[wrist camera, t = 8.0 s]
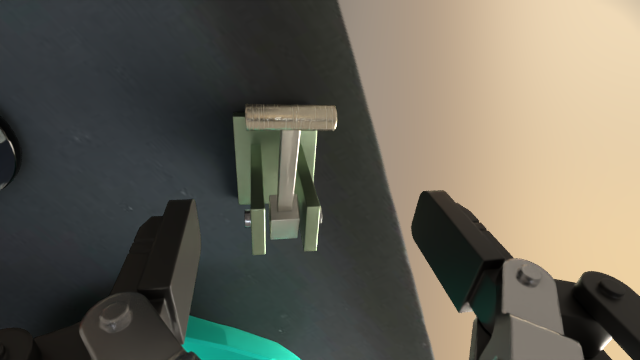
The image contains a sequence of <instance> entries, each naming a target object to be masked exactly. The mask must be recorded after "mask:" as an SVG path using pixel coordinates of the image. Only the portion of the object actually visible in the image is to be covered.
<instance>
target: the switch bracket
mask: <svg viewBox="0 0 640 360" xmlns="http://www.w3.org/2000/svg"><path fill="white" fill-rule="evenodd" d="M233 128H234V143H235V158H236V172H237V187H238V201H239V205H245V204H251V210H245V228H251V231H252V253H253V255H262V254H265V253H266V242H265V204H268V203H269V195H277V187H278V164H279V142H280V131H247V130H246V123H245V112H234V113H233ZM316 138H317V131H301V133H300V142H299V152H298V161H297V170H296V179H295V188H294V194H297V198H298V206H299V213H300V224H299V228H300V233H301V238H302V243H303V248H304V251H316V248H317V237H318V227H319V224H321V222H322V210H321V207H320V204H319V200H318V197H317V194H316V191H315V187H314V184H313V178H314V165H315V152H316Z"/></svg>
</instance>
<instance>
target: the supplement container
mask: <svg viewBox="0 0 640 360" xmlns="http://www.w3.org/2000/svg"><path fill="white" fill-rule="evenodd" d="M21 162H22V152H21V147H20V143H19V141H18V139H17V137H16V135H15V133H14V131H13V130H12V128H11V127H10V125H9V124H8V123H7V122H6V121H5V120H4V119H3V118H2V117H1V116H0V190H2V189H3V188H5V187H6V186H7V185H9V184H10V183H11V182H12V181H13V180H14V178H15V177H16V176H17V174H18V172H19V170H20V167H21Z"/></svg>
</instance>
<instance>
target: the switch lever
mask: <svg viewBox="0 0 640 360" xmlns="http://www.w3.org/2000/svg"><path fill="white" fill-rule="evenodd" d="M245 123H246V130H247V131H280V142H279V164H278V187H277V195H269V227H270V239H286V238H297V237H298V230H299V224H300V213H299V206H298V198H297V194H294V188H295V179H296V170H297V161H298V152H299V142H300V133H301V131H334V130H335V128H336V124H337V111H336V107H335V106H334V105H274V104H246V105H245Z"/></svg>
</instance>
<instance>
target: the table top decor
mask: <svg viewBox="0 0 640 360" xmlns="http://www.w3.org/2000/svg"><path fill="white" fill-rule="evenodd" d="M182 347H183V348H184V349H185V350H186V351H187V352H188V353H189V352H190V351H192V352H194V353H195V354H196V355H197V356H198V357H199V358H200V359H201V360H301V359H300V358H298V357H297V356H296V355H295V354H293V353H292V352H290V351H289V350H287V349H286V348H284V347H283V346H281V345H280V344H278V343H276V342H274V341H271V340H268V339H265V338H262V337H260V336H257V335H254V334H251V333H248V332H245V331H242V330H239V329H236V328H233V327H230V326H226V325H222V324H218V323H214V322H211V321H207V320H204V319H200V318H197V317H194V316H190V315H189V319H188V324H187V330H186V335H185V341H184V344H182Z"/></svg>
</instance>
